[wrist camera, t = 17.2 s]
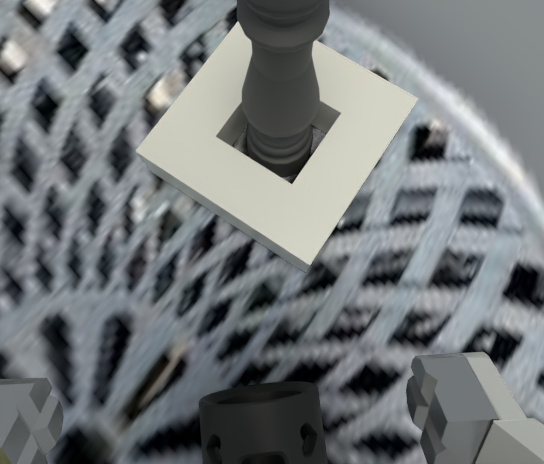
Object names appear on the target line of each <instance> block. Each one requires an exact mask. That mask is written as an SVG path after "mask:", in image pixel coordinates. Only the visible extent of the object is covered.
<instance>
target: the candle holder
mask: <svg viewBox="0 0 544 464" xmlns="http://www.w3.org/2000/svg"><path fill="white" fill-rule="evenodd" d="M329 15H330V10H329V0H237V19H238V21H239V23H240V26H241V28H242V30H243V32H244V34H245V36H246V37H247V38H249V39H250V40H251V43H252V56H251V59H250V63H249V66H248V70H247V74H246V77H245V80H244V84H243V87H242V108H243V111H244V113H245V115H246V117H247V119H248V127H247V146H248V152H249V156H250V158H251V159H252V160H254V161H255V162H257V163H259V164H260V165H262V166H263V167H265V168H267V169H268V170H270V171H271V172H273V173H275V174H276V175H278V176H279V177H288V176H290V175H293V174H295V173H297V172H298V171H299V170H300V169H301V168H302V167H303V166H304V165H305V164H306V162H307V160H308V157H309V155H310V151H311V146H312V141H313V132H312V126H311V122H312V121H313V120H314V118H315V116H316V113H317V111H318V108H319V105H320V93H319V85H318V81H317V77H316V72H315V68H314V63H313V59H312V48H313V42H314V41H315V40H316V39H317V38H318V37H319V36H320V35H321V34H322V33H323V30H324V28H325V26H326V23H327V21H328V18H329Z"/></svg>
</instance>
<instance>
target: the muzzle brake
mask: <svg viewBox="0 0 544 464" xmlns="http://www.w3.org/2000/svg"><path fill="white" fill-rule="evenodd" d="M199 415H200V429H201V443H202V458H203V464H328V462H327V454H326V446H325V440H324V432H323V424H322V417H321V408H320V400H319V393H318V386H316V385H315V384H313V383H309V382H275V383H265V384H257V385H249V386H242V387H237V388H232V389H227V390H223V391H219V392H215V393H212V394H209V395H207V396H205V397H203V398H202V399H201V400H200V401H199Z"/></svg>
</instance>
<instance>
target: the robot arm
mask: <svg viewBox="0 0 544 464" xmlns="http://www.w3.org/2000/svg"><path fill="white" fill-rule="evenodd" d="M411 369H412V371H413V374H414V375H413V376H412V377H411V378H410V379H409V380H408V383H407V388H406V394H407V404H408V409H409V413H410V416H411V418H412V421H413V423H414V424H415V425H416V426H417V427H418V428H420V429H421V430H422V431H423V432H422V436H421V440H420V444H421V447H422V449H423V452H424V455H425V458H426V460H427V463H428V464H544V425H543V424H542V423H540V422H539V421H537V420H536V419H535V418H527V417H526V416H525V414H524V413H523V411H522V409H521V408H520V406H519V405H518V403H517V401H516V400H515V398H514V396H513V395H512V393H511V392H510V390H509V388H508V387H507V385H506V384H505V382H504V380H503V379H502V377H501V376H500V374H499V372H498V371H497V369H496V367H495V366H494V364H493V363H492V361H491V359H490V358H489V356H488V355H487V354H485V353H484V352H474V353H460V354H459V353H450V354H436V355H422V356H415V357H414V358H413V360H412V364H411ZM51 389H52V386H51V384H50V382H49V381H48V379H47V378H25V379H0V464H48V462H47V459H46V456H45V454H46V453H47V452H48V451H49V450H51V449H52V448H53V447H54V446H55V445H56V444H57V441H58V439H59V436H60V434H61V431H62V424H63V410H62V406H61V404H60V402H59V400H58V399H56V398H54V397H53V396H51V395H49V394H50V392H51Z"/></svg>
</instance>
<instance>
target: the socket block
mask: <svg viewBox="0 0 544 464" xmlns="http://www.w3.org/2000/svg"><path fill="white" fill-rule="evenodd" d="M251 56H252V43H251V40H250V39H249V38H247V37H246V36H245V34H244V32H243V30H242V28H241V26H240V23H239V21H238V22H237V23H236V25H235V26H234V27H233V28H232V30H231V31H230V32H229V33H228V35H227V36H226V37H225V38H224V40H223V41H222V42H221V43H220V45H219V46H218V47H217V49H216V50H215V51H214V52H213V54H212V55H211V56H210V57H209V59H208V60H207V61H206V62H205V64H204V65H203V66H202V67H201V69H200V70H199V71H198V73H197V74H196V75H195V76H194V78H193V79H192V80H191V81H190V83H189V84H188V85H187V86H186V88H185V89H184V90H183V91H182V93H181V94H180V95H179V97H178V98H177V99H176V100H175V102H174V103H173V104H172V105H171V107H170V108H169V109H168V110H167V112H166V113H165V114H164V115H163V117H162V118H161V119H160V121H159V122H158V123H157V124H156V126H155V127H154V128H153V129H152V131H151V132H150V133H149V134H148V136H147V137H146V138H145V140H144V141H143V142H142V143H141V145H140V146H139V147H138V148H137V150H136V151H135V152H136V153H137V154H138V155H139V157H140V158H141V159H142V160H143V162H144V163H145V164H146V165H147V167H148V168H149V169H150V170H151V172H152V173H154V174H156V175H157V176H159V177H160V178H162V179H163V180H165V181H166V182H168V183H169V184H171V185H172V186H174V187H175V188H177V189H178V190H180V191H181V192H183V193H184V194H186V195H187V196H189V197H191V198H192V199H194V200H195V201H197V202H198V203H200V204H201V205H203V206H204V207H206V208H207V209H209V210H210V211H212V212H213V213H215V214H216V215H218V216H219V217H221V218H222V219H224V220H226V221H227V222H229V223H230V224H232V225H233V226H235V227H236V228H238V229H239V230H241V231H242V232H244V233H245V234H247V235H248V236H250V237H251V238H253V239H254V240H256V241H257V242H259V243H261V244H262V245H264V246H265V247H267V248H268V249H270V250H271V251H273V252H274V253H276V254H277V255H279V256H280V257H282V258H283V259H285V260H286V261H288V262H289V263H291V264H292V265H294V266H296V267H297V268H299V269H300V270H302V271H303V272H305V273H306V271H307V270H308V268H309V267H310V265H311V263H312V262H313V260H314V259H315V257H316V256H317V254H318V253H319V251H320V250H321V248H322V247H323V245H324V244H325V242H326V240H327V239H328V237H329V236H330V234H331V233H332V231H333V230H334V228H335V227H336V225H337V224H338V222H339V220H340V219H341V217H342V216H343V214H344V213H345V211H346V210H347V208H348V207H349V205H350V204H351V202H352V201H353V199H354V197H355V196H356V194H357V193H358V191H359V190H360V188H361V187H362V185H363V184H364V182H365V181H366V179H367V178H368V176H369V174H370V173H371V171H372V170H373V168H374V167H375V165H376V164H377V162H378V161H379V159H380V158H381V156H382V155H383V153H384V151H385V150H386V148H387V147H388V145H389V144H390V142H391V141H392V139H393V138H394V136H395V135H396V133H397V132H398V130H399V128H400V127H401V125H402V124H403V122H404V121H405V119H406V118H407V116H408V114H409V113H410V111H411V110H412V108H413V107H414V105H415V103H416V102H417V100H418V98H416V97H415V96H413V95H411V94H409V93H408V92H406V91H404V90H402V89H401V88H399V87H397V86H395V85H394V84H392V83H390V82H388V81H387V80H385V79H383V78H381V77H380V76H378V75H376V74H374V73H373V72H371V71H369V70H367V69H366V68H364V67H362V66H360V65H359V64H357V63H355V62H353V61H352V60H350V59H348V58H346V57H345V56H343V55H341V54H339V53H338V52H336V51H334V50H332V49H331V48H329V47H327V46H325V45H323V44H322V43H320V42H318V41H316V40H315V41H314V42H313V48H312V59H313V63H314V68H315V72H316V77H317V81H318V85H319V93H320V105H319V108H318V111H317V113H316V116H315V118H314V120H313V121H312V122H311V125H313V126H314V127H316V128H318V129H319V130H321V131H323V132H324V133H326V136H325V137H324V139H323V140H322V142H321V143H320V145H319V146H318V147H317V149H316V150H315V152H314V153H313V155H312V156H311V158H310V159H309V160H308V162H307V163H306V165H305V166H304V168H303V169H302V171H301V172H300V174H299V175H298V176H297V178H296V179H295V181H294V182H293V184H290V183H289V182H287V181H286V180H284V179H282V178H281V177H279V176H278V175H276V174H275V173H273V172H271V171H270V170H268V169H267V168H265V167H263V166H262V165H260V164H259V163H257V162H255V161H254V160H252V159H251V158H249V157H247V156H246V155H244V154H243V153H241V152H240V151H238V150H236V149H235V148H233V147H232V145H233V144H234V142H235V141H236V140H237V138H238V137H239V136H240V134H241V133H242V132H243V130H244V129H245V127H246V126H247V125H248V119H247V117H246V115H245V113H244V111H243V108H242V87H243V84H244V80H245V77H246V74H247V70H248V66H249V63H250V59H251Z"/></svg>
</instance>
